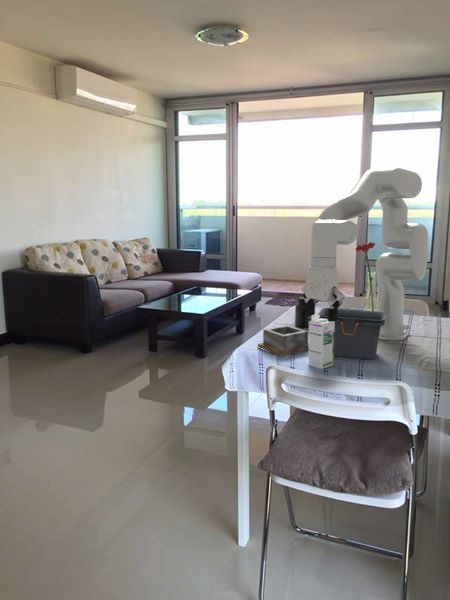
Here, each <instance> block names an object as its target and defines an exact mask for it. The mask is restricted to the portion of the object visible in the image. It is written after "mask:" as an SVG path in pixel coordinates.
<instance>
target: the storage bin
mask: <svg viewBox="0 0 450 600" xmlns="http://www.w3.org/2000/svg"><path fill="white" fill-rule="evenodd" d="M329 308H330V307H323V308H321V310H319V312H318V314H317V315H318V316H319V317H318V319H321V318H322V319H328V309H329ZM385 319H386V313H384V312H377V310H363V309H353V308H352V309H350V308H340V307H339V308H338V311H337V321H334V322H335V327H334V357H341V358H343V357H345V358H352V359H353V358H354V359H361V358H366V359H365V360H370V359H373V360H375V359H376V357H377V356H376V355H377V351H378V345H379V340H380V339H379V333H380V328H381V326H383V325H384V323H385Z"/></svg>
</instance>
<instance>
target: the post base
mask: <svg viewBox="0 0 450 600" xmlns="http://www.w3.org/2000/svg"><path fill="white" fill-rule="evenodd" d="M262 331H263V336H262V337H263V338H262V340H263V342H260V343H257V348H258V347H260V348H263V349H265V350H267V351H269V352H270V354H272V355H275V356H277V357H282V356H287V355H288V356H289V355H291V354H295V352H297V353H300V352H299V351H301V352H304V351H303V350H306V351H309V350H308V349H309V330H304V329H303V328H298V327H296V326H292V325H289V324H286V325H279V326H275V327H270V328H269V327H268V328H263V330H262ZM260 348H259V349H260ZM265 350H264V351H265ZM267 351H266V352H267ZM269 352H268V353H269Z"/></svg>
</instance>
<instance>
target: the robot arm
mask: <svg viewBox="0 0 450 600" xmlns="http://www.w3.org/2000/svg"><path fill="white" fill-rule="evenodd" d="M422 187H423V182H422V178H421V176H420V175H419V174H418V173H417V172H414V171H412V170H408V169H405V168H400V167H382V168H370V169H369V170H367V171H365V172H364V173H363V174H362V176H361V177H360V178H359V179H358V181H357V183H356V184H355V186H354V187H353V188H352V189H351V191H350V192H349V193H348V194H347V195H346V196H344V197H342V198H341V199H339V200H337V201H334V202H333V203H331V204H330V205H329V206H327V207H326V208H325V209H324V210H322V212H321V213H320V214H319V215H318V216H317V218H316V220H315V221H314V222H313V223H312V226H311V239H310V240H311V241H310V242H311V244H310V245H311V247H310V259H309V260H310V265H309V266H308V268H307V273H306V279H305V285H304V286H302V287H301V291H302V294H303V295H302V297H304V298H305V303H306V315H307V316H310V315H312V316H315V314H316V302H315V301H320V302H324V303H326V302H327V304H328V306H329V307H328V308H329V309H328V321H329V322H332V321H337V311H338V308H340V306H341V305H342V304H343V300H344V298H345V294H343V293H342V292H341V290H339V275H338V269H337V248H338V246H339V245H340V246H348V245H352V244H353V243H355V242H356V241H357V239H358V236H359V227H358V225H357V224H356V223H355V222H353V221H352V220H351V219H355V218H358V217H361V216H364V215H366V214H368V213H369V212H370V211H371V210H372V209H373V207H374V205H375V204H376V202H377V201H378V202H379V204H380V206H381V208H382V222H381V244H382V246H383V247H385V248H386V249H389V250H390V249H391V250H400V251H401V250H402V251H409V253H403V252H384V253H382V254H380V255H379V256H378V257H377V259H376V261H375V270H376V277H377V278H376V279H377V297H376V299H377V300H376V311H377V312H384V313H386V319H385V323H384V325H383V326H381V328H380V333H379V340H382V341H391V342H392V341H402V340H405V339H407V333H405V332H404V331H405V330H408V329H410V327H411V326H410V324H409V323H405V324H404V323H403V322H404V309H405V308H404V307H405V306H404V305H405V289H404V285H403V284H402V281H412V282H418V281H421V280H423V278H424V277H425V275H426V273H427V265H428V251H429V250H428V249H429V231H428V229H427V227H426V226H425V225H424V224H422V223H418V222H417V223H416V222H408V215H409V214H408V213H409V212H408V210H409V209H408V206H407V203H406V202H405V200H404V199H414V198H416V197H418V195H420V194H421V191H422Z"/></svg>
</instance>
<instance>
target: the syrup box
mask: <svg viewBox="0 0 450 600" xmlns="http://www.w3.org/2000/svg"><path fill="white" fill-rule="evenodd" d="M334 327H335V322H334V321H332V322H329V321H328V319H322V318H321V319H319V318H318V319H314V320H312V321H309V328H308V343H309V350H308V366H311V367H313V368H316V369H319V370H323V369H326V368H329V367H333V366H335V356H334Z"/></svg>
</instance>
